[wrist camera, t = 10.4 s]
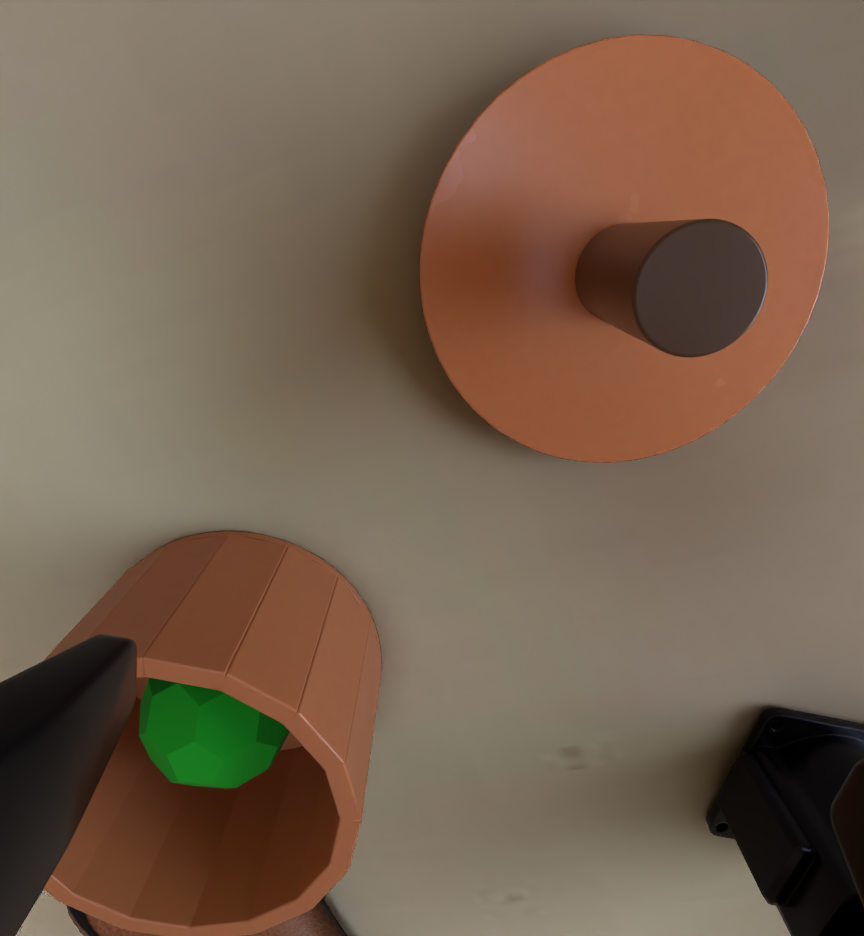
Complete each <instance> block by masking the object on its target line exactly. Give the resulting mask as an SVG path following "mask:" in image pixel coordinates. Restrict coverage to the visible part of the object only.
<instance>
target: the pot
mask: <svg viewBox="0 0 864 936" xmlns="http://www.w3.org/2000/svg"><path fill="white" fill-rule="evenodd" d="M99 634H107V635H113V636H119V637H125V638H130V639H132V640H133V641H134V642H135V643H136V646H137V683H136V699H135V703H134V707H133V710H132V713H131V715H130V718H129V720H128V722H127V724H126V726H125V728H124V730H123V732H122V734H121V737H120V739H119V741H118V743H117V745H116V747H115V749H114V751H113V754H112V756H111V758H110V760H109V762H108V764H107V766H106V768H105V770H104V773H103V775H102V777H101V779H100V781H99V783H98V785H97V787H96V790H95V792H94V794H93V796H92V798H91V800H90V802H89V804H88V806H87V809H86V811H85V813H84V815H83V817H82V819H81V821H80V823H79V825H78V827H77V829H76V831H75V833H74V835H73V837H72V839H71V841H70V843H69V846H68V847H67V849H66V851H65V853H64V854H63V856H62V858H61V860H60V861H59V863H58V865H57V867H56V869H55V870H54V872H53V874H52V875H51V877H50V879H49V880H48V882H47V884H46V885H45V887H44V890H46V891H47V892H48V893H49V894H51V895H52V896H53V897H54V898H55V899H57V900H58V901H59V902H62V903H63V904H65V905H68V906H70V907H72V908H75V909H77V910H79V911H82V912H84V913H86V914H89V915H91V916H93V917H96V918H98V919H100V920H103V921H105V922H107V923H110V924H112V925H114V926H117V927H119V928H121V929H126V930H129V931H136V932H142V933H149V934H155V935H162V936H241V935H251V934H256V933H259V932H262V931H264V930H266V929H268V928H271V927H273V926H275V925H278V924H280V923H282V922H284V921H287V920H289V919H291V918H294V917H296V916H298V915H300V914H303V913H305V912H307V911H310V910H311V909H313V908H314V907H315V906H316V904H317V903H318V902H319V901H320V900H321V899H322V898H323V897H324V896H325V895H326V894H327V893H328V892H329V891H330V890H331V889H332V888H333V887H334V885H335V884H336V883H337V882H338V881H339V880H340V879H341V878H342V877H343V876H344V875H345V874H346V873H347V872H348V869H349V868H350V864H351V860H352V856H353V853H354V849H355V845H356V841H357V837H358V833H359V829H360V825H361V821H362V813H363V806H364V798H365V791H366V783H367V776H368V768H369V761H370V754H371V746H372V739H373V731H374V724H375V716H376V709H377V701H378V694H379V686H380V679H381V671H382V660H381V649H380V643H379V637H378V633H377V630H376V627H375V624H374V621H373V618H372V616H371V614H370V612H369V610H368V608H367V606H366V604H365V603H364V601H363V600H362V598H361V597H360V596H359V594H358V593H357V591H356V590H355V589H354V588H353V587H352V585H351V584H350V583H349V582H348V581H347V580H346V579H345V578H344V577H343V576H342V575H341V574H340V573H339V572H337V571H336V570H335V569H334V568H333V567H332V566H331V565H329V564H328V563H326V562H325V561H323V560H322V559H320V558H319V557H317V556H316V555H314V554H312V553H310V552H308V551H306V550H304V549H303V548H301V547H299V546H296V545H294V544H291V543H288V542H286V541H283V540H281V539H277V538H273V537H269V536H265V535H262V534H255V533H248V532H233V531H220V532H210V533H202V534H197V535H193V536H188V537H185V538H182V539H179V540H176V541H174V542H171V543H168V544H167V545H165V546H163V547H161V548H159V549H157V550H155V551H153V552H152V553H151V554H149V555H148V556H147V557H145V558H144V559H143V560H141V561H140V562H139V563H138V564H137V565H135V566H133V567H132V568H130V569H129V570H127V571H126V572H125V573H124V575H123V576H122V577H121V578H120V579H119V580H118V581H117V582H116V583H115V584H114V585H113V586H112V587H111V589H110V590H109V591H108V592H107V593H106V594H105V595H104V596H103V597H102V598H101V599H100V600H99V601H98V602H97V604H96V605H95V606H94V607H93V608H92V609H91V610H90V611H89V612H88V613H87V614H86V615H85V616H84V618H83V619H82V620H81V621H80V622H79V623H78V624H77V625H76V626H75V627H74V628H73V629H72V630H71V632H70V633H69V634H68V635H67V636H66V637H65V638H64V639H63V640H62V641H61V642H60V643H59V644H58V645H57V647H56V648H55V649H54V650H53V651H52V652H51V653H50V654H49V655H48V656H47V657H46V658H45V659H44V661H45V660H47V659H49V658H51V657H53V656H55V655H57V654H59V653H61V652H63V651H65V650H67V649H69V648H71V647H73V646H75V645H77V644H79V643H81V642H83V641H85V640H87V639H89V638H91V637H93V636H96V635H99ZM149 678H154V679H160V680H165V681H170V682H176V683H181V684H187V685H192V686H198V687H203V688H209V689H214V690H219V691H222V692H224V693H225V694H227V695H229V696H231V697H233V698H235V699H237V700H239V701H241V702H242V703H244V704H246V705H248V706H250V707H252V708H254V709H256V710H258V711H259V712H261V713H263V714H265V715H267V716H269V717H271V718H273V719H275V720H276V721H278V722H280V723H282V724H283V725H284V726H285V727H286V728H287V729H288V730H289V731H290V733H289V735H288V737H287V738H286V740H285V742H284V744H283V746H282V748H281V750H280V751H279V753H278V755H277V757H276V759H275V760H274V762H273V763H272V765H271V766H270V767H269V769H267V770H266V771H264V772H262V773H261V774H259V775H257V776H256V777H254V778H252V779H250V780H249V781H247V782H245V783H244V784H242V785H240V786H239V787H237V788H228V789H224V788H212V787H200V786H191V785H184V784H178V783H171V782H170V781H169V780H168V779H167V777H166V776H165V775H164V774H163V773H162V772H161V771H160V769H159V768H158V767H157V766H156V765H155V764H154V763H153V761H152V760H151V759H150V757H149V755H148V753H147V751H146V749H145V747H144V745H143V743H142V741H141V739H140V737H139V723H140V703H141V700H142V697H143V694H144V691H145V688H146V685H147V682H148V679H149Z"/></svg>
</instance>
